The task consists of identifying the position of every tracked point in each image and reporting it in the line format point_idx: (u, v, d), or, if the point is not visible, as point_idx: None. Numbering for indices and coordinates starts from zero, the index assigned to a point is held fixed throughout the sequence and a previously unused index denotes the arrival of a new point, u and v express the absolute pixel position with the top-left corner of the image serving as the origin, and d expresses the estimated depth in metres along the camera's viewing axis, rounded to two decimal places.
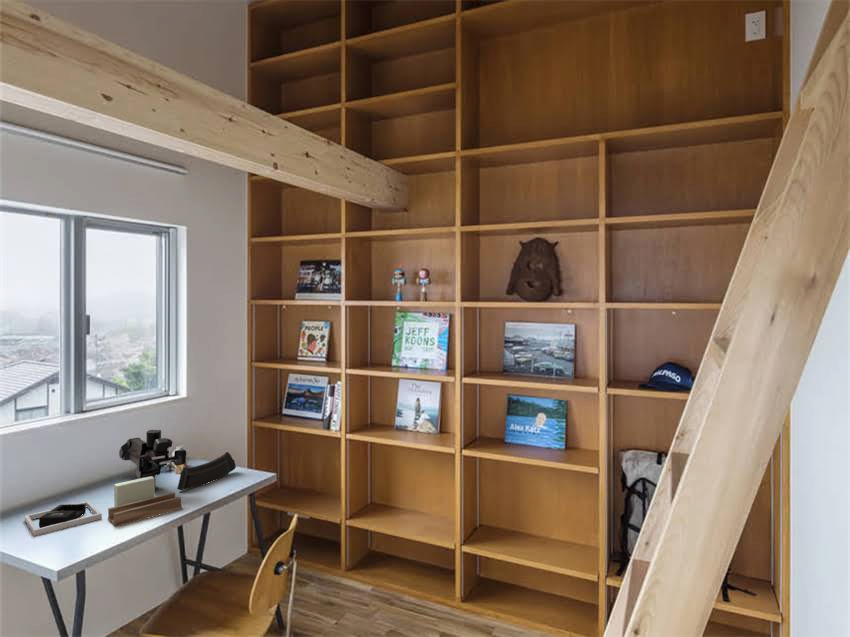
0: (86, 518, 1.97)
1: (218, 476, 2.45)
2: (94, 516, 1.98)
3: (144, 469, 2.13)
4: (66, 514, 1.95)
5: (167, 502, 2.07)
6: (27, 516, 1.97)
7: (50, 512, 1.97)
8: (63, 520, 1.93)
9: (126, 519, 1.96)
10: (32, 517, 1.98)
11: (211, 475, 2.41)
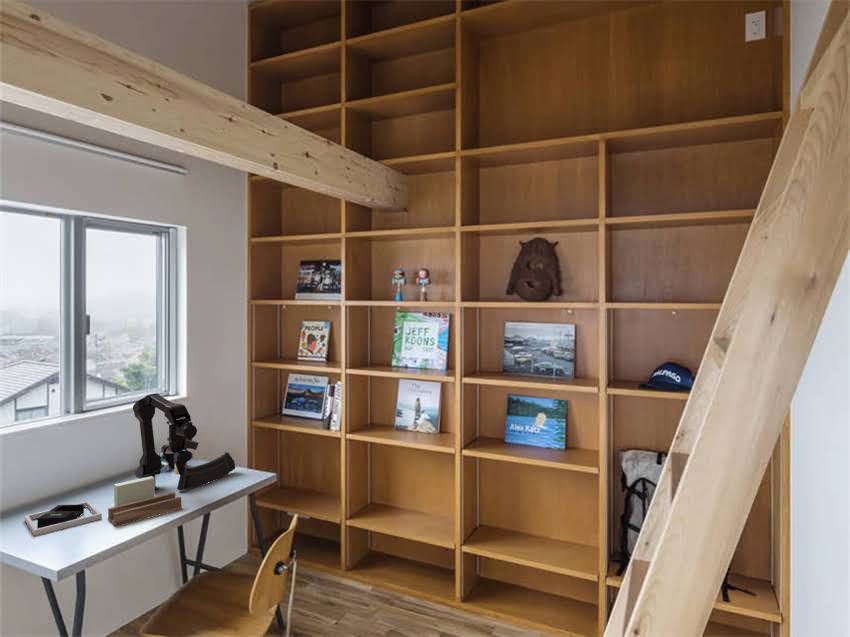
0: (86, 518, 1.97)
1: (217, 476, 2.45)
2: (94, 516, 1.98)
3: None
4: (65, 515, 1.94)
5: (167, 502, 2.07)
6: (27, 516, 1.97)
7: (48, 512, 1.96)
8: (62, 520, 1.92)
9: (126, 519, 1.96)
10: (32, 517, 1.98)
11: (210, 476, 2.41)
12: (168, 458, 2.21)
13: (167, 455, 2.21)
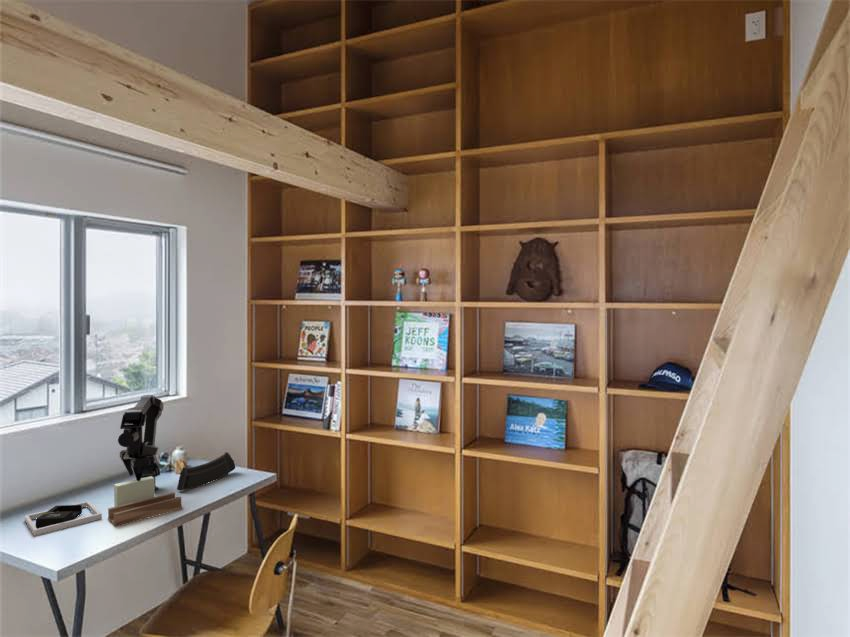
0: (86, 518, 1.97)
1: (217, 476, 2.45)
2: (94, 516, 1.98)
3: None
4: (63, 515, 1.94)
5: (167, 502, 2.07)
6: (27, 516, 1.97)
7: (46, 513, 1.96)
8: (60, 521, 1.92)
9: (126, 519, 1.96)
10: (32, 517, 1.98)
11: (210, 476, 2.41)
12: (126, 463, 2.16)
13: (125, 460, 2.16)
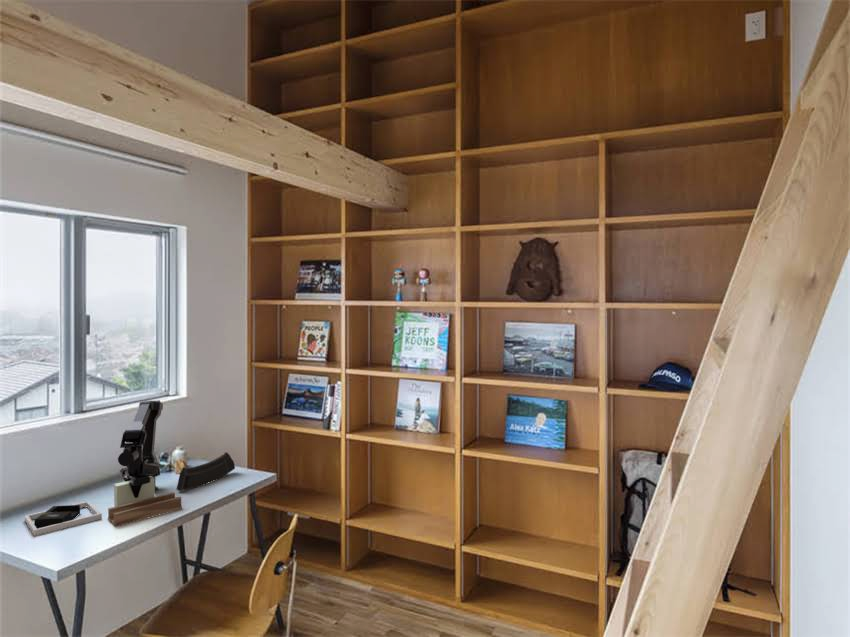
0: (86, 518, 1.97)
1: (217, 477, 2.45)
2: (94, 516, 1.98)
3: None
4: (62, 515, 1.94)
5: (167, 502, 2.07)
6: (27, 516, 1.97)
7: (45, 513, 1.95)
8: (59, 521, 1.92)
9: (126, 519, 1.96)
10: (32, 517, 1.98)
11: (210, 476, 2.41)
12: None
13: (127, 480, 2.14)
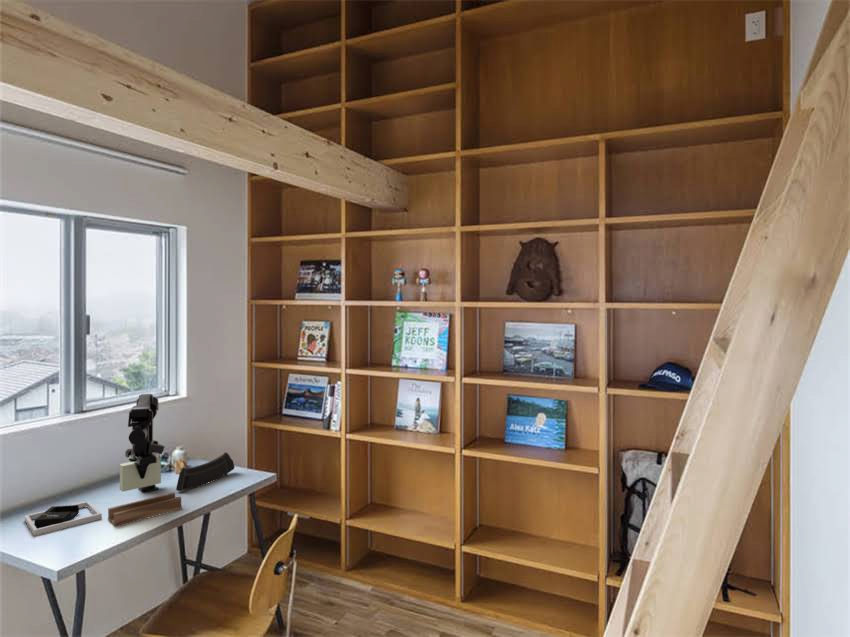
0: (86, 518, 1.97)
1: (216, 477, 2.44)
2: (94, 516, 1.98)
3: None
4: (62, 515, 1.94)
5: (167, 502, 2.07)
6: (27, 516, 1.97)
7: (44, 514, 1.95)
8: (60, 521, 1.92)
9: (126, 519, 1.96)
10: (32, 517, 1.98)
11: (209, 476, 2.41)
12: None
13: (133, 461, 2.08)
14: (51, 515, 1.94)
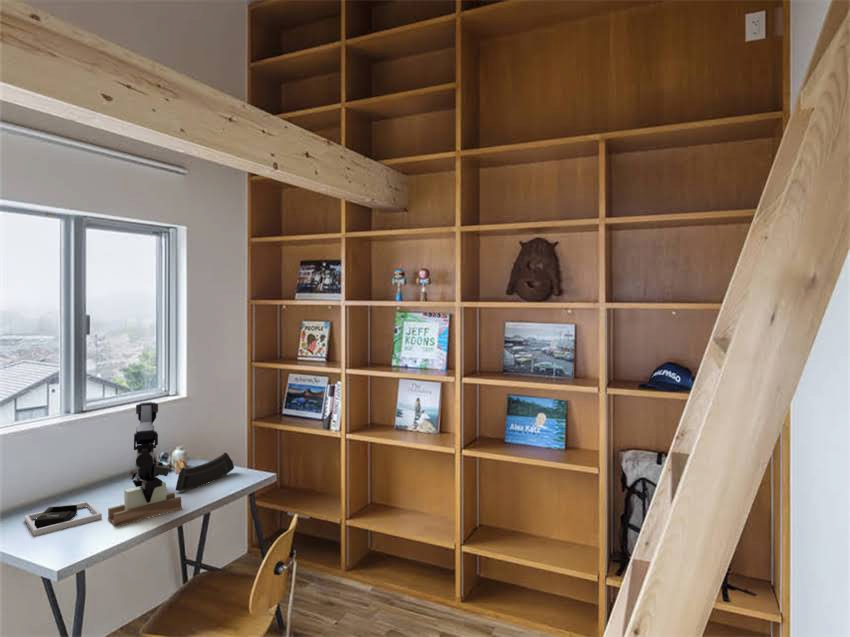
0: (86, 518, 1.97)
1: (216, 477, 2.44)
2: (94, 516, 1.98)
3: None
4: (63, 515, 1.94)
5: (167, 502, 2.07)
6: (27, 516, 1.97)
7: (43, 514, 1.95)
8: (61, 521, 1.92)
9: (126, 519, 1.96)
10: (32, 517, 1.98)
11: (209, 476, 2.40)
12: (138, 486, 2.06)
13: (137, 483, 2.06)
14: (51, 515, 1.94)
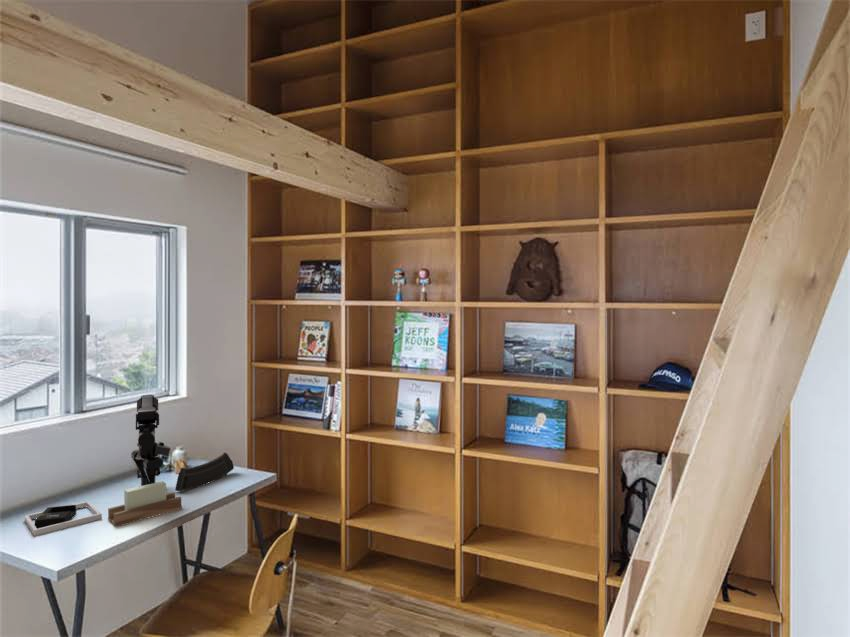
0: (86, 518, 1.97)
1: (215, 477, 2.44)
2: (94, 516, 1.98)
3: None
4: (63, 515, 1.94)
5: (167, 502, 2.07)
6: (27, 516, 1.97)
7: (43, 514, 1.95)
8: (61, 520, 1.92)
9: (126, 519, 1.96)
10: (32, 517, 1.98)
11: (209, 476, 2.40)
12: (138, 464, 2.10)
13: (137, 461, 2.10)
14: (51, 515, 1.94)
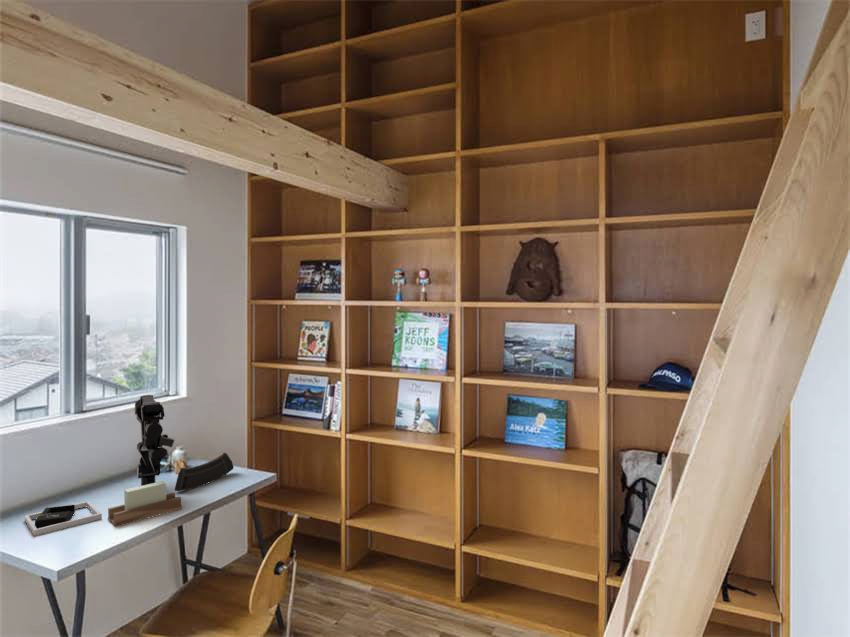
0: (86, 518, 1.97)
1: (215, 477, 2.44)
2: (94, 516, 1.98)
3: None
4: (63, 515, 1.94)
5: (167, 502, 2.07)
6: (27, 516, 1.97)
7: (42, 515, 1.94)
8: (62, 520, 1.92)
9: (126, 519, 1.96)
10: (32, 517, 1.98)
11: (208, 476, 2.40)
12: (144, 455, 2.21)
13: (143, 452, 2.21)
14: (51, 515, 1.94)
